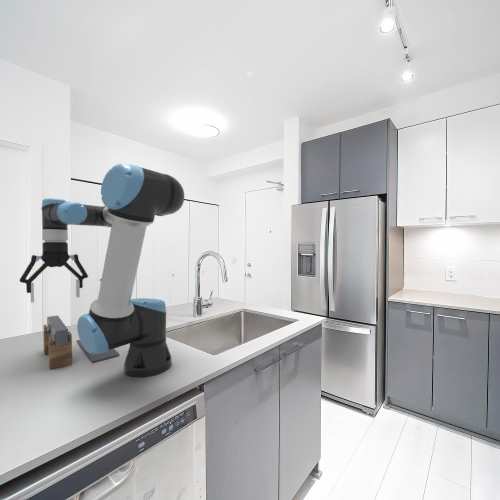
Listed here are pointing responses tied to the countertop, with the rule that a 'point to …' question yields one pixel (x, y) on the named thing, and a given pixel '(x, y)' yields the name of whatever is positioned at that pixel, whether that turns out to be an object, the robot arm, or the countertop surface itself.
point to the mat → (99, 356)
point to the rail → (57, 330)
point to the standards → (57, 350)
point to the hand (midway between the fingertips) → (56, 299)
